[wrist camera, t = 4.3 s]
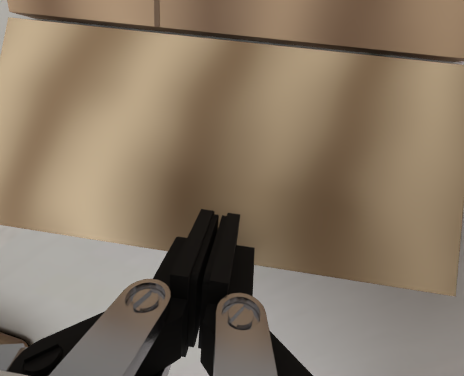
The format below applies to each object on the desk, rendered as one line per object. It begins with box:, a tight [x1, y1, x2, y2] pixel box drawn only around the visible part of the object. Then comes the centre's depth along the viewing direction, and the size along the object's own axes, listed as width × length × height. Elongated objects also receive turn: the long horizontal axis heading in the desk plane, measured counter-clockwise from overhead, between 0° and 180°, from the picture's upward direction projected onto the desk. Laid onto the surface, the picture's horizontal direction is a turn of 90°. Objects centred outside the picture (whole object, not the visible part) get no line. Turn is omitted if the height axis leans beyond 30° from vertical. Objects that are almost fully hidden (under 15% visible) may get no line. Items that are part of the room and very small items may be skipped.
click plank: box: [0, 17, 464, 296], centre depth 12 cm, size 22×10×1 cm, turn 84°
